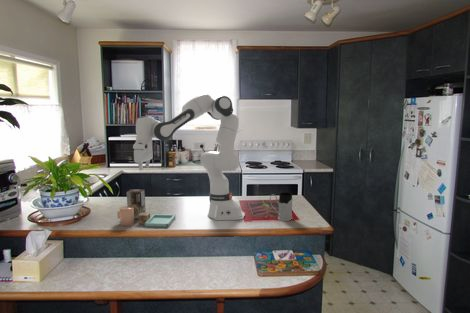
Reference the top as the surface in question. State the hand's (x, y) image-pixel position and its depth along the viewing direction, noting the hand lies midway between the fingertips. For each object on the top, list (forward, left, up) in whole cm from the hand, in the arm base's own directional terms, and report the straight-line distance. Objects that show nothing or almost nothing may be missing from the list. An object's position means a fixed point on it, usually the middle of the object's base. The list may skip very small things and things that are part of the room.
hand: (144, 168), depth 186 cm
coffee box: (+7, -6, -31) cm, 32 cm away
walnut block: (-1, +3, -30) cm, 31 cm away
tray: (-10, +2, -30) cm, 32 cm away
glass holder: (-79, -12, -31) cm, 85 cm away
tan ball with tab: (+8, +6, -30) cm, 32 cm away
